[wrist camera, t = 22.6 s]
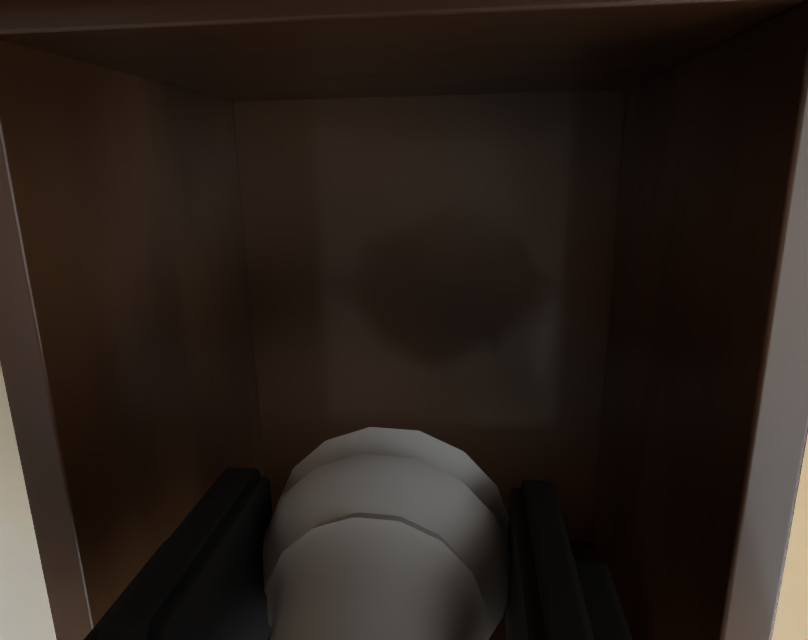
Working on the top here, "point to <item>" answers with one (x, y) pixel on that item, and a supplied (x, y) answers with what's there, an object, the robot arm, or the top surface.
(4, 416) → the top surface
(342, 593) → the rook chess piece
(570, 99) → the toy chest
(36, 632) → the top surface
